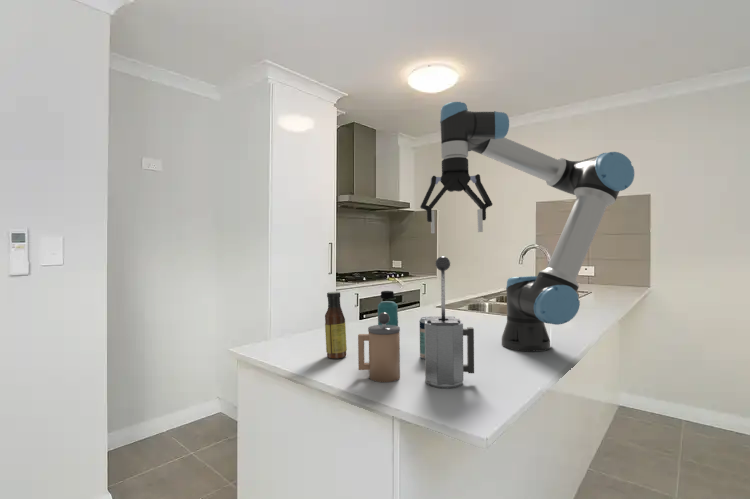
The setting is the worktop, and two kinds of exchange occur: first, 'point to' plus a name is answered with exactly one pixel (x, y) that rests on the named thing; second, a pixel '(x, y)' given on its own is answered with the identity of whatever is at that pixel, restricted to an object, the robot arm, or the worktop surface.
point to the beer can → (422, 336)
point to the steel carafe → (447, 352)
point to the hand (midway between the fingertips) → (456, 232)
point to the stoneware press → (381, 351)
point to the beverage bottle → (388, 308)
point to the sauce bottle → (335, 328)
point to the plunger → (442, 280)
